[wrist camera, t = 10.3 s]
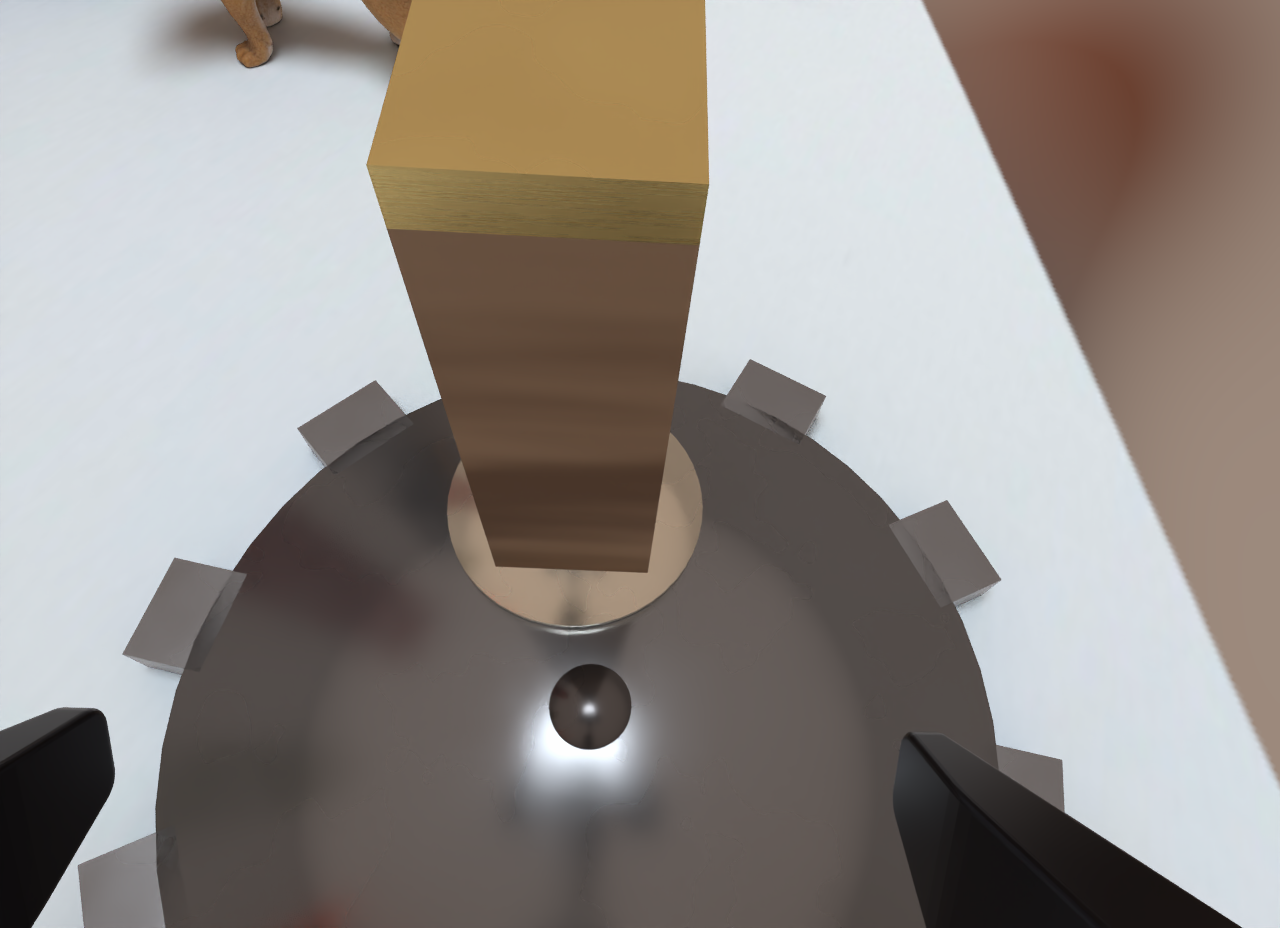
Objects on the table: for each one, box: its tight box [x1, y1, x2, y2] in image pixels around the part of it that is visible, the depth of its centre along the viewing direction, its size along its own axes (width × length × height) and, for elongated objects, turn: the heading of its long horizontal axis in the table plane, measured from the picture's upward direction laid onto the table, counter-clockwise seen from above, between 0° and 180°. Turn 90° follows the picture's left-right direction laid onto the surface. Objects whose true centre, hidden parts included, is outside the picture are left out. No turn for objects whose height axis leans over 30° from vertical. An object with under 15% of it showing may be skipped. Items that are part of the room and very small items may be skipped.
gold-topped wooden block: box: [367, 0, 709, 573], centre depth 16 cm, size 4×4×13 cm
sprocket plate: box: [78, 359, 1064, 928], centre depth 20 cm, size 23×23×1 cm
